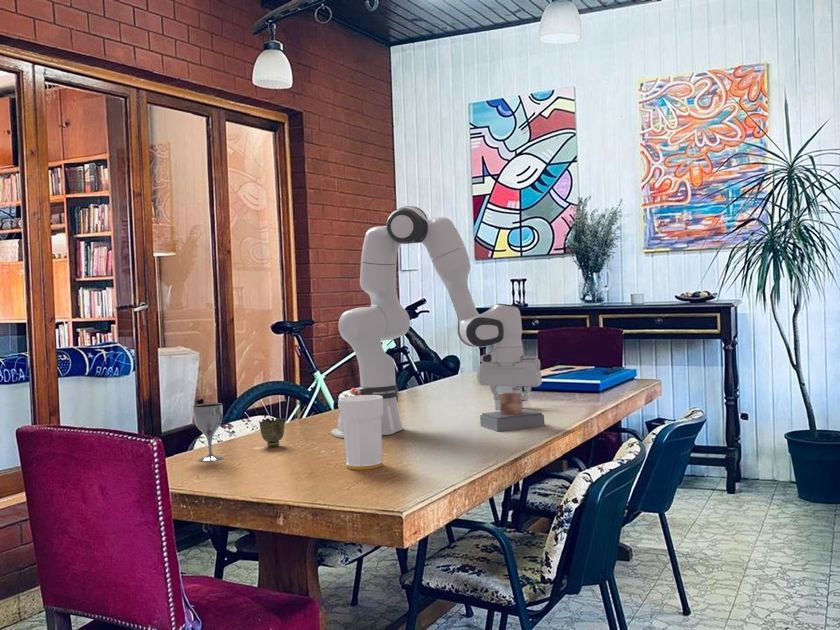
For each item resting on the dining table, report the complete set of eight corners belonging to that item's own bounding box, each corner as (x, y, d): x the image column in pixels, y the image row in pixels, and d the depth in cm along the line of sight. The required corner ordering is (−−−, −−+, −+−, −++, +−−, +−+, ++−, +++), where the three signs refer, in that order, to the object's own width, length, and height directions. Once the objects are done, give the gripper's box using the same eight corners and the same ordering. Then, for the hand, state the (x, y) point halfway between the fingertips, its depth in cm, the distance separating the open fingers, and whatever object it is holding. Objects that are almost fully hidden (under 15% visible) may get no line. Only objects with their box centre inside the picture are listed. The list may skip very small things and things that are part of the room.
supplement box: (512, 411, 296) (511, 374, 296) (494, 410, 301) (492, 374, 300) (523, 407, 302) (522, 372, 302) (505, 406, 307) (504, 371, 306)
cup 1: (278, 449, 247) (276, 421, 247) (255, 448, 250) (254, 421, 250) (290, 444, 254) (289, 417, 254) (268, 443, 257) (267, 417, 257)
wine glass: (200, 456, 242) (197, 403, 242) (228, 455, 242) (225, 402, 241) (192, 462, 234) (188, 407, 234) (221, 461, 234) (217, 406, 233)
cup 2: (391, 467, 214) (387, 398, 214) (347, 472, 211) (343, 402, 211) (380, 459, 225) (377, 393, 225) (338, 464, 222) (334, 397, 221)
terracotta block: (500, 414, 265) (499, 394, 265) (506, 411, 269) (505, 392, 269) (516, 414, 263) (515, 394, 263) (521, 411, 267) (520, 392, 267)
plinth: (497, 431, 258) (496, 418, 258) (480, 425, 269) (479, 413, 269) (544, 425, 263) (543, 412, 263) (526, 420, 275) (525, 408, 275)
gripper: (544, 355, 263) (546, 400, 263) (484, 354, 273) (486, 398, 274) (535, 357, 257) (537, 403, 258) (475, 356, 268) (477, 400, 269)
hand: (510, 400), depth 266 cm, fingers open, 8 cm apart
